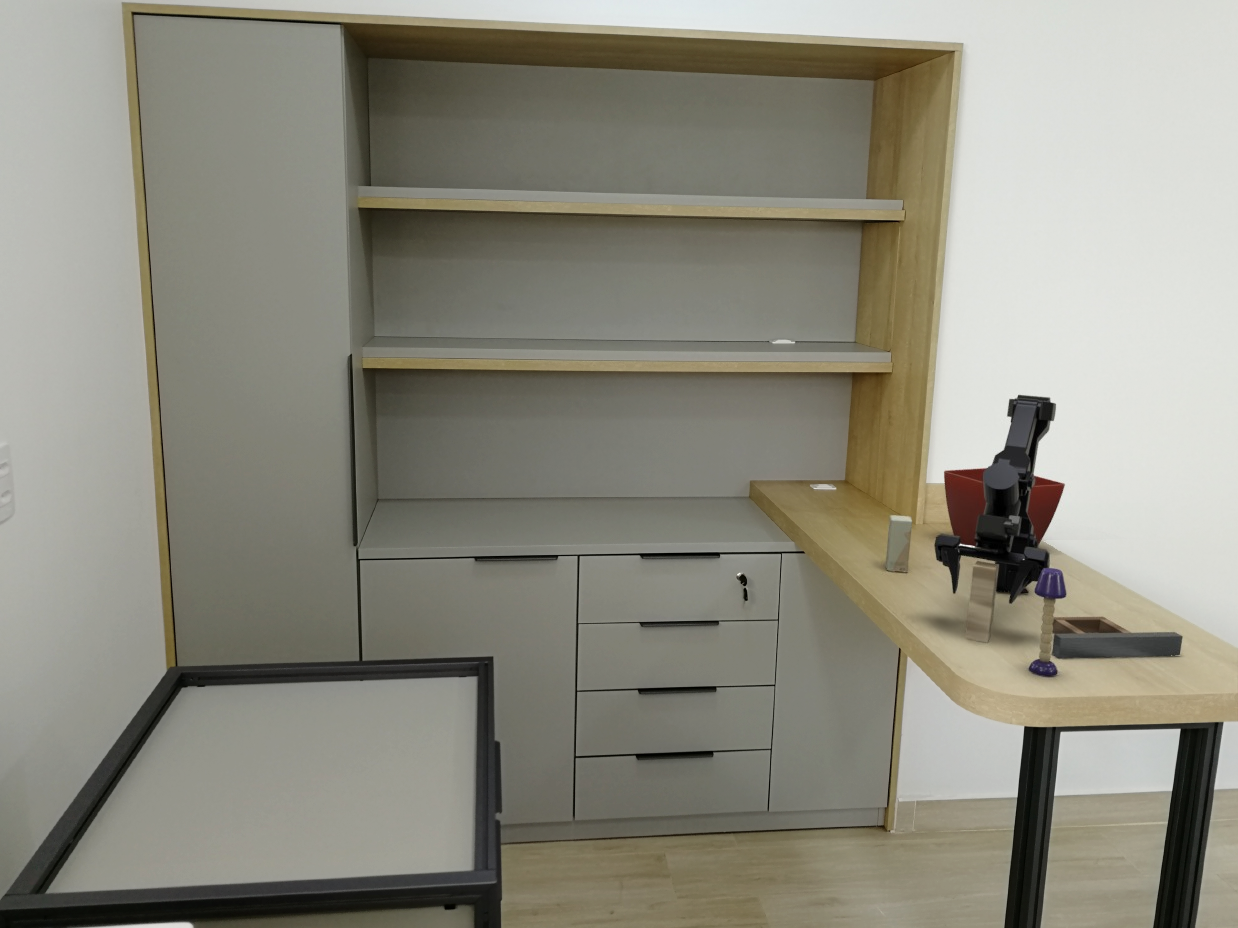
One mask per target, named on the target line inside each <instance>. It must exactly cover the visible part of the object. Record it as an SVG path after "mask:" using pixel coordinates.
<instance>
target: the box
mask: <svg viewBox="0 0 1238 928" xmlns="http://www.w3.org/2000/svg"><path fill="white" fill-rule="evenodd" d="M888 522H889V523H888V537H887V546H886V547H887V548H886V557H885V568H887V569H886V571H887V570H894V571H893V572H895V571H905V572H904V573H906V572H907V573H908V570H909V559H910V551H911V550H910V549H911V548H910V547H911V540H912V539H911V538H912V529H913V528H912V526H913V520H912V517H911V516H908V515H906V516H905V515H895V514H893V515H892V514H891V515H889V521H888Z"/></svg>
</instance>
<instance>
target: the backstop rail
mask: <svg viewBox="0 0 1238 928" xmlns="http://www.w3.org/2000/svg"><path fill="white" fill-rule="evenodd" d="M1053 634H1054V633H1053ZM1052 640H1053V641H1052V642H1053V643H1052V647H1051V655H1053V656H1054V657H1055V658H1057V659H1086V658H1089V659H1090V658H1091V659H1093V658H1095V659H1096V658H1097V659H1098V658H1101V659H1103V658H1139V657H1140V658H1142V657H1143V658H1145V657H1148V658H1149V657H1151V658H1152V657H1153V656H1156V657H1172V656H1171V655H1181V650H1182V643H1183V635H1181V634H1180V633H1177V632H1175V631H1159V632H1157V631H1155V632H1153V631H1152V632H1151V631H1149V632H1148V631H1147V632H1144V631H1143V632H1131V633H1077V634H1054V635H1053V639H1052ZM1153 658H1154V657H1153Z"/></svg>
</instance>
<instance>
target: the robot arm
mask: <svg viewBox="0 0 1238 928" xmlns="http://www.w3.org/2000/svg"><path fill="white" fill-rule="evenodd" d="M1007 405H1008V406H1007V414H1006V417H1007V418H1008V417H1009V418H1010V426H1009V429H1008V434H1007V437H1006V441H1005V445H1004V447H1003V450H1001V451H1000V452H997V453H996V454H995V455H994V457H993V460H992V464H991V465H989V466H988V467H986V468H987V469H986V470H985V471H984V473H983V485H984V497H985V501H986V506H985V510H984V514H983V515H982V514H980V515H978V520H977V526H976V534H975V538H974V539H975V542H977V543H976V546H970V545H964V544H961V538H960V536H954V534H949V533H940V534H938V535H937V536H936V537H935V541H934V543H933V544H934V546H933V547H934V553H935V558H936V561H938V562H940V563H942V566H944V567H947V568H948V570H949V573H950V577H951V586H952V594H954V595H955V594H956V593H957V590H958V586H959V579H960V578H959V577H960V570H961V563H960V562H961V558H962V556H963V557H969V558H973V559H980V560H986V561H992V562H994V564H999V569H998V578H997V586H996V593H1007V594H1008V593H1009V599H1008V603H1009V604H1013V603H1014V602H1015V600H1016V599H1017V598H1018V597H1019V595H1020V594H1023V595H1024V594H1026V595H1027V594H1029V590H1028V589H1027V588H1026V587H1028V586H1029V585H1030V584H1031V583H1032V582H1036V583H1037V582H1038V579H1039V576H1040V574H1041V571H1042V570H1043V569H1044V568H1051V567H1050V565H1051V562H1050V558H1051V557H1050V556H1051V554H1050V552H1049V551H1048V550H1047V549H1045V548H1039V545H1038V542H1037V541H1036V535H1035V534H1033V529H1034V528H1033V525H1032V523H1031V520H1030V518H1029V516H1028V507H1029V500H1030V494H1031V489H1032V487H1033V486H1034V485H1035V477H1034V476H1035V475H1034V473H1035V468H1036V462H1037V461H1036V460H1037V455H1038V448H1039V444H1040V443H1039V442H1040V441H1041V440H1042V439H1043V438H1044V437H1045V436H1046V435H1047V434H1048V433H1049V431H1050V426H1051V422H1054V421H1055V417H1056V412H1057V411H1056V410H1057V404H1056V403H1055V402H1051V397H1049V396H1037V395H1035V396H1034V395H1026V394H1025V395H1024V394H1018V395H1017V397H1015V398H1009V400H1008V404H1007Z"/></svg>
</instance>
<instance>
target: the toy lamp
mask: <svg viewBox="0 0 1238 928" xmlns="http://www.w3.org/2000/svg"><path fill="white" fill-rule="evenodd" d="M1065 582H1066V581H1065V577H1064V574H1063V571H1062V570H1061V569H1058V568H1055V567H1054V568H1053V567H1049V568H1044V569H1043V570H1042V571H1041V574H1040V576H1039V579H1038V581H1037V582H1036V584H1035V587H1034V591H1033V593H1034V594H1035V595H1036V596H1038V597H1040V598H1043V603H1044V604H1043V607H1042V612H1043V614H1042V617H1041V621H1042V623H1041V626H1040V629H1041V633H1040V643H1039V651H1040V652H1039V654H1038V657H1039V658H1037V659H1034V660H1033V661H1031V662H1030V665H1029V666H1028V671H1029V672H1031V673H1032V674H1035V675H1038V676H1041V677H1055V676H1057V675H1058V672H1059V671H1058V668H1057V666H1056V664H1055V662H1052V661H1051V657H1052V653H1051V652H1052V642H1053V641H1052V640H1053V633H1052V631H1053V625H1052V623H1053V621H1054V617H1055V616H1054V614H1055V610H1056V608H1055V604H1056V601H1057V600H1062V599H1064V598H1066V597H1067V589H1066V583H1065Z"/></svg>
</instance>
